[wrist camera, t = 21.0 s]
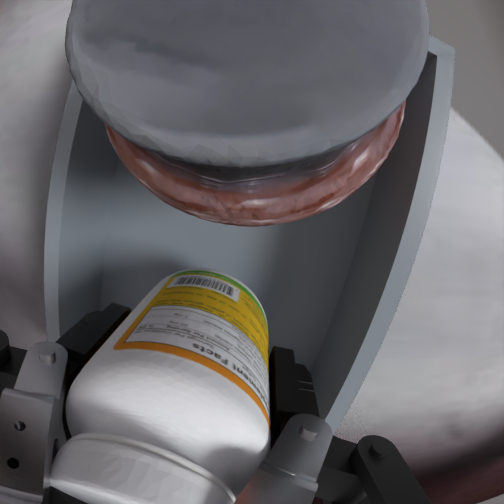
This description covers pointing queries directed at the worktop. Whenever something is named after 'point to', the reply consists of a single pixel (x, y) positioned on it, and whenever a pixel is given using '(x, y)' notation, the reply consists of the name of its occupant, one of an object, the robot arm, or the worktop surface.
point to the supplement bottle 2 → (172, 399)
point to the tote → (253, 242)
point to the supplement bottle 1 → (249, 97)
